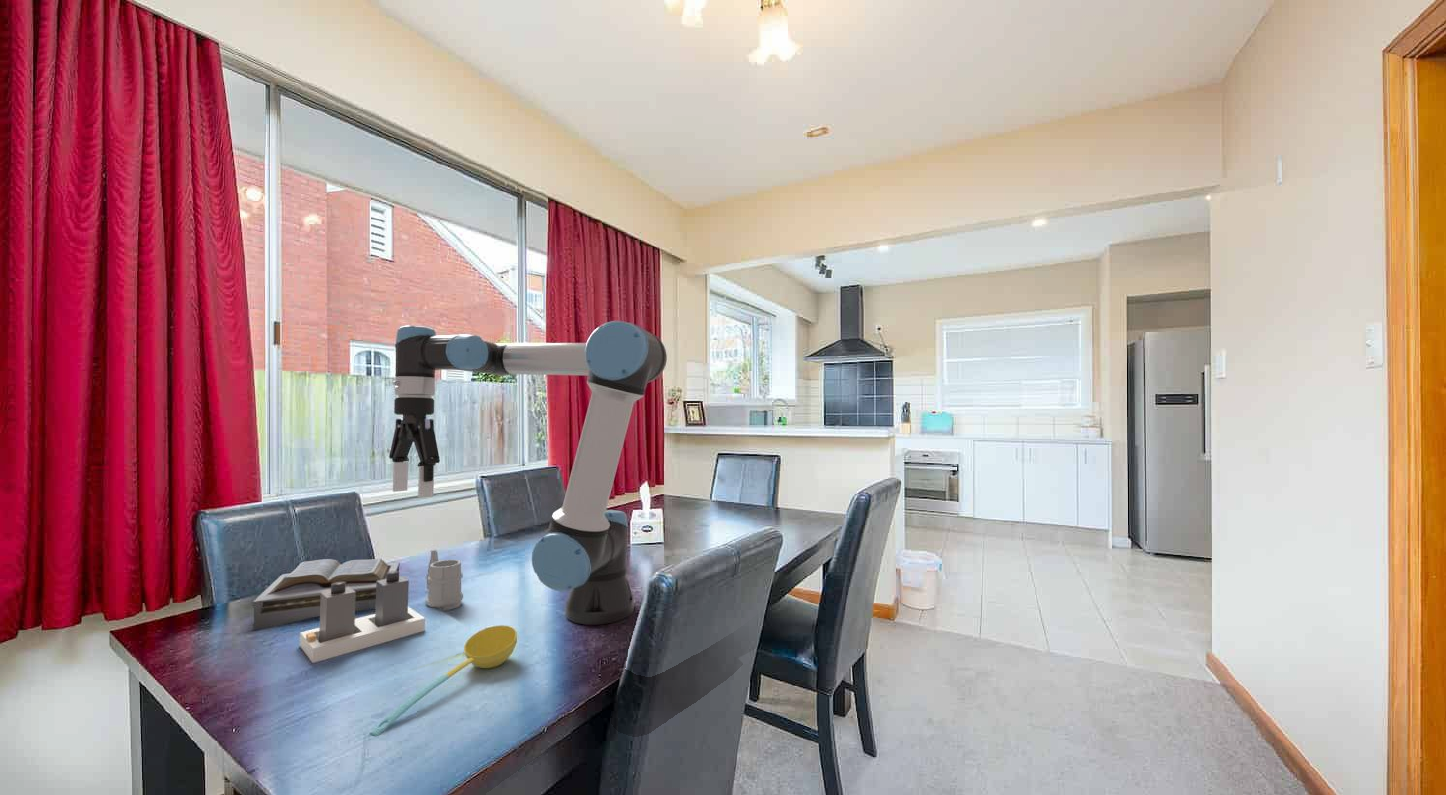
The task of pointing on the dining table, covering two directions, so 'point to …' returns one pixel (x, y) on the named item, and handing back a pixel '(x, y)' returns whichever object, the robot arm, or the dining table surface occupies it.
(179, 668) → the dining table surface
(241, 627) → the dining table surface
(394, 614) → the plug
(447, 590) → the mug
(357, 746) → the dining table surface
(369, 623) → the strip
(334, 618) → the twin plug
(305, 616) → the bible
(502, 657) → the ladle
